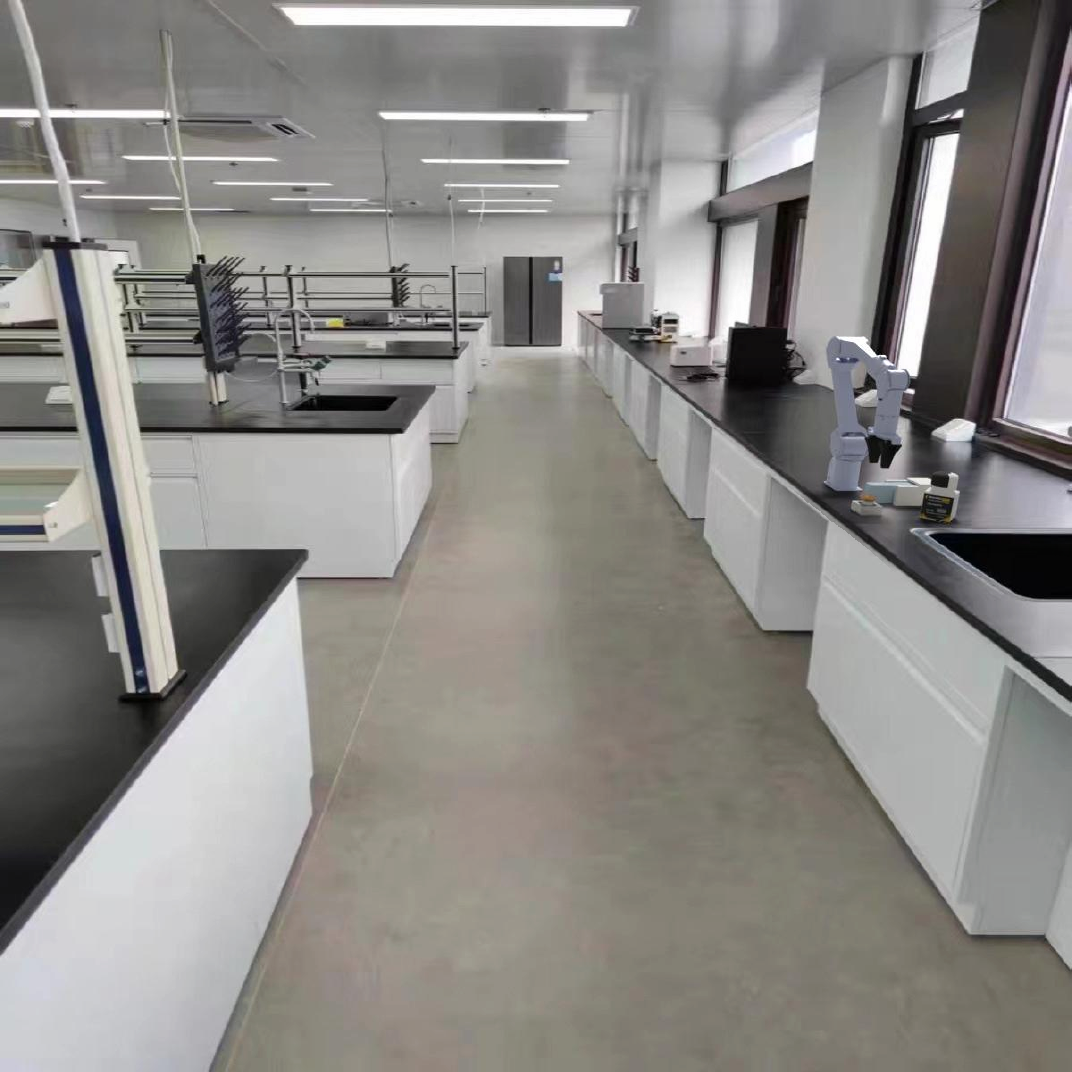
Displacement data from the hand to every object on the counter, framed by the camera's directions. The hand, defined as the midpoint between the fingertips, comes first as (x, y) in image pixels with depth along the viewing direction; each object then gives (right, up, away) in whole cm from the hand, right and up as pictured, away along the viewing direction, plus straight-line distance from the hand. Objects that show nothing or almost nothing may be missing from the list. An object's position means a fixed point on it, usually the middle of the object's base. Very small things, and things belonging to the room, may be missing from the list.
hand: (878, 465), depth 207 cm
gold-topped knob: (-6, -12, -6) cm, 15 cm away
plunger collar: (-6, -13, -6) cm, 16 cm away
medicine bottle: (+11, -15, -9) cm, 20 cm away
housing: (+10, -10, +4) cm, 15 cm away
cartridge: (+6, -10, +4) cm, 12 cm away
